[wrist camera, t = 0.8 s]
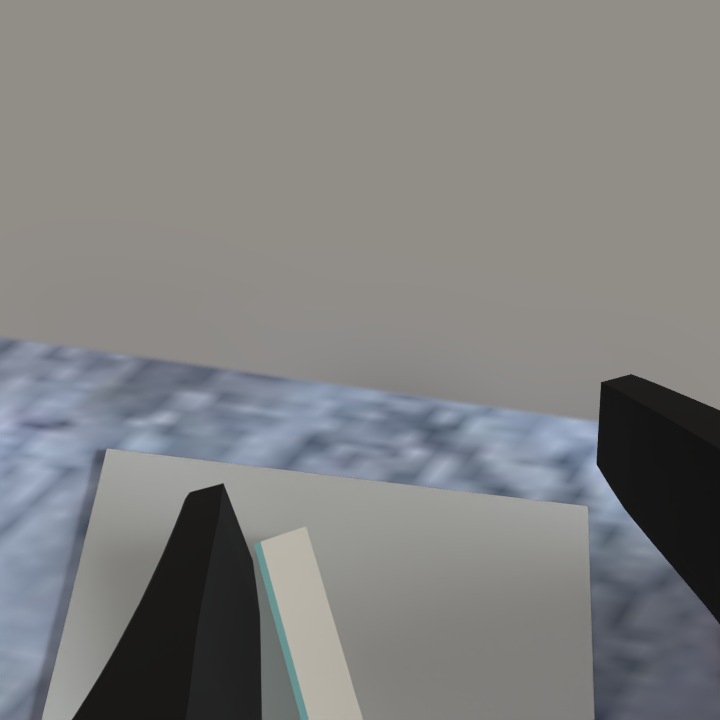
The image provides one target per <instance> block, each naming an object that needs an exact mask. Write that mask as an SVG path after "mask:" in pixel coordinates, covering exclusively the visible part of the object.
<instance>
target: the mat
mask: <svg viewBox="0 0 720 720" xmlns="http://www.w3.org/2000/svg"><path fill="white" fill-rule="evenodd" d="M222 483H224V486H225V488H226V491H227V494H228V496H229V499H230V501H231V504H232V507H233V509H234V512H235V515H236V517H237V520H238V523H239V525H240V528H241V530H242V533H243V536H244V538H245V541H246V544H247V546H248V549H249V552H250V554H251V557H252V559H253V564H254V572H255V579H256V586H257V594H258V602H259V610H260V632H261V690H262V720H301V718H300V714H299V711H298V707H297V703H296V699H295V696H294V692H293V688H292V684H291V681H290V677H289V673H288V670H287V666H286V662H285V658H284V655H283V651H282V647H281V643H280V640H279V636H278V632H277V629H276V625H275V621H274V617H273V614H272V610H271V606H270V602H269V599H268V595H267V591H266V588H265V584H264V580H263V576H262V573H261V569H260V565H259V561H258V558H257V554H256V550H255V547H254V543H257V542H260V541H263V540H266V539H269V538H272V537H275V536H278V535H281V534H284V533H287V532H290V531H294V530H297V529H300V528H303V527H306V528H307V531H308V535H309V538H310V541H311V545H312V548H313V552H314V555H315V558H316V562H317V565H318V569H319V572H320V575H321V579H322V582H323V586H324V589H325V592H326V596H327V599H328V603H329V606H330V609H331V613H332V616H333V620H334V623H335V626H336V630H337V633H338V637H339V640H340V643H341V647H342V650H343V654H344V657H345V661H346V664H347V667H348V671H349V674H350V678H351V681H352V684H353V688H354V691H355V695H356V698H357V701H358V705H359V708H360V712H361V715H362V718H363V720H594V688H593V656H592V623H591V591H590V559H589V527H588V506H581V505H572V504H564V503H556V502H547V501H539V500H531V499H522V498H514V497H506V496H497V495H489V494H481V493H473V492H464V491H456V490H448V489H439V488H431V487H423V486H414V485H406V484H398V483H389V482H381V481H373V480H364V479H356V478H348V477H340V476H331V475H323V474H315V473H306V472H298V471H290V470H281V469H273V468H265V467H256V466H248V465H240V464H232V463H223V462H215V461H207V460H198V459H190V458H182V457H173V456H165V455H157V454H148V453H140V452H132V451H124V450H115V449H107V450H106V454H105V458H104V463H103V467H102V471H101V475H100V479H99V483H98V488H97V492H96V496H95V500H94V504H93V508H92V513H91V517H90V521H89V525H88V529H87V533H86V537H85V542H84V546H83V550H82V554H81V558H80V562H79V567H78V571H77V575H76V579H75V583H74V587H73V591H72V596H71V600H70V604H69V608H68V612H67V616H66V621H65V625H64V629H63V633H62V637H61V641H60V645H59V650H58V654H57V658H56V662H55V666H54V670H53V675H52V679H51V683H50V687H49V691H48V695H47V699H46V704H45V708H44V712H43V716H42V720H72V718H73V717H74V715H75V714H76V712H77V711H78V709H79V708H80V706H81V704H82V703H83V701H84V700H85V698H86V697H87V695H88V693H89V692H90V690H91V689H92V687H93V685H94V684H95V682H96V680H97V679H98V677H99V675H100V674H101V672H102V670H103V669H104V667H105V665H106V664H107V662H108V660H109V658H110V657H111V655H112V653H113V651H114V650H115V648H116V646H117V644H118V642H119V640H120V638H121V637H122V635H123V633H124V631H125V629H126V627H127V625H128V623H129V622H130V620H131V618H132V616H133V614H134V612H135V610H136V608H137V607H138V605H139V603H140V601H141V599H142V597H143V595H144V592H145V590H146V588H147V586H148V584H149V582H150V580H151V578H152V575H153V573H154V571H155V569H156V567H157V565H158V563H159V561H160V558H161V556H162V554H163V552H164V549H165V547H166V545H167V542H168V540H169V538H170V535H171V533H172V531H173V528H174V526H175V523H176V521H177V518H178V516H179V513H180V511H181V508H182V506H183V503H184V500H185V498H186V497H187V495H188V494H189V492H192V491H196V490H200V489H204V488H207V487H211V486H215V485H219V484H222Z"/></svg>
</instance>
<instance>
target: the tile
mask: <svg viewBox="0 0 720 720" xmlns="http://www.w3.org/2000/svg"><path fill="white" fill-rule="evenodd" d="M254 547H255V550H256V554H257V558H258V561H259V565H260V569H261V573H262V576H263V580H264V584H265V588H266V591H267V595H268V599H269V602H270V606H271V610H272V614H273V617H274V621H275V625H276V629H277V632H278V636H279V640H280V643H281V647H282V651H283V655H284V658H285V662H286V666H287V670H288V673H289V677H290V681H291V684H292V688H293V692H294V696H295V699H296V703H297V707H298V711H299V714H300V718H301V720H363V718H362V715H361V712H360V708H359V705H358V701H357V698H356V695H355V691H354V688H353V684H352V681H351V678H350V674H349V671H348V667H347V664H346V661H345V657H344V654H343V650H342V647H341V643H340V640H339V637H338V633H337V630H336V626H335V623H334V620H333V616H332V613H331V609H330V606H329V603H328V599H327V596H326V592H325V589H324V586H323V582H322V579H321V575H320V572H319V569H318V565H317V562H316V558H315V555H314V552H313V548H312V545H311V541H310V538H309V535H308V531H307V528H306V527H303V528H300V529H297V530H294V531H290V532H287V533H284V534H281V535H278V536H275V537H272V538H269V539H266V540H263V541H260V542H257V543H254Z"/></svg>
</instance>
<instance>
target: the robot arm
mask: <svg viewBox="0 0 720 720" xmlns="http://www.w3.org/2000/svg"><path fill="white" fill-rule="evenodd" d="M597 466H598V468H599V469H600V471H601V472H602V474H603V476H604V477H605V479H606V481H607V482H608V484H609V486H610V487H611V489H612V490H613V492H614V493H615V495H616V496H617V498H618V499H619V501H620V502H621V504H622V506H623V507H624V509H625V510H626V511H627V512H628V514H629V515H630V516H631V517H632V519H633V520H634V521H635V522H636V523H637V525H638V526H639V527H640V528H641V529H642V531H643V532H644V533H645V534H646V536H647V537H648V538H649V539H650V540H651V542H652V543H653V544H654V545H655V546H656V548H657V549H658V550H659V551H660V552H661V553H662V555H663V556H664V557H665V558H666V559H667V561H668V562H669V563H670V564H671V565H672V567H673V568H674V569H675V570H676V571H677V572H678V574H679V575H680V576H681V577H682V578H683V580H684V581H685V582H686V583H687V584H688V586H689V587H690V588H691V589H692V590H693V591H694V593H695V594H696V595H697V596H698V597H699V599H700V600H701V601H702V602H703V603H704V605H705V606H706V607H707V608H708V610H709V611H710V612H711V613H712V615H713V616H714V617H715V619H716V620H717V621H718V622H719V624H720V410H717V409H715V408H713V407H710V406H708V405H706V404H703V403H701V402H699V401H696V400H694V399H692V398H689V397H687V396H684V395H682V394H680V393H677V392H675V391H672V390H670V389H668V388H665V387H663V386H660V385H658V384H655V383H653V382H650V381H648V380H645V379H643V378H639V377H637V376H634V375H632V374H630V375H627V376H623V377H619V378H616V379H612V380H608V381H605V382H601V394H600V412H599V430H598V448H597ZM72 720H262V690H261V632H260V610H259V602H258V594H257V586H256V579H255V572H254V564H253V559H252V557H251V554H250V552H249V549H248V546H247V544H246V541H245V538H244V536H243V533H242V530H241V528H240V525H239V523H238V520H237V517H236V515H235V512H234V509H233V507H232V504H231V501H230V499H229V496H228V494H227V491H226V488H225V486H224V483H222V484H219V485H215V486H211V487H207V488H204V489H200V490H196V491H192V492H189V494H188V495H187V497H186V498H185V500H184V503H183V506H182V508H181V511H180V513H179V516H178V518H177V521H176V523H175V526H174V528H173V531H172V533H171V535H170V538H169V540H168V542H167V545H166V547H165V549H164V552H163V554H162V556H161V558H160V561H159V563H158V565H157V567H156V569H155V571H154V573H153V575H152V578H151V580H150V582H149V584H148V586H147V588H146V590H145V592H144V595H143V597H142V599H141V601H140V603H139V605H138V607H137V608H136V610H135V612H134V614H133V616H132V618H131V620H130V622H129V623H128V625H127V627H126V629H125V631H124V633H123V635H122V637H121V638H120V640H119V642H118V644H117V646H116V648H115V650H114V651H113V653H112V655H111V657H110V658H109V660H108V662H107V664H106V665H105V667H104V669H103V670H102V672H101V674H100V675H99V677H98V679H97V680H96V682H95V684H94V685H93V687H92V689H91V690H90V692H89V693H88V695H87V697H86V698H85V700H84V701H83V703H82V704H81V706H80V708H79V709H78V711H77V712H76V714H75V715H74V717H73V718H72Z"/></svg>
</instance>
